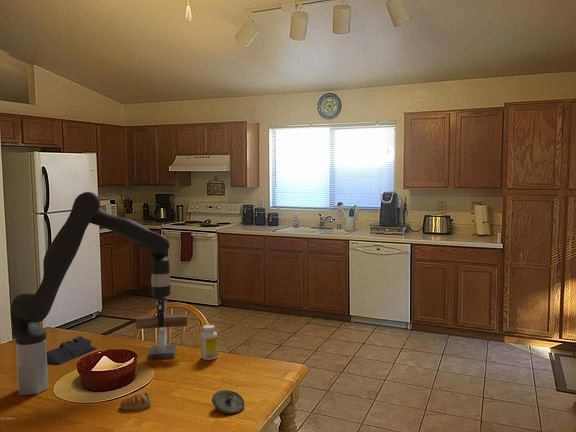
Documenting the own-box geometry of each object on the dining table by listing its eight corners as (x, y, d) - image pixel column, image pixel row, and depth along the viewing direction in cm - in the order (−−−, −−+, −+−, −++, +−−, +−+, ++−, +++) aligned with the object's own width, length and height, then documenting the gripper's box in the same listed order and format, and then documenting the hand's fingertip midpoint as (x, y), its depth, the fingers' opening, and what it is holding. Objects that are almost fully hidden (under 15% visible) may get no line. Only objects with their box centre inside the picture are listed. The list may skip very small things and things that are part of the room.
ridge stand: (174, 357, 197) (173, 333, 196) (148, 359, 195) (148, 334, 195) (176, 349, 207) (175, 326, 206) (151, 350, 205) (151, 327, 204)
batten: (186, 326, 200) (186, 316, 199) (136, 328, 197) (135, 319, 196) (187, 323, 204) (186, 313, 203) (137, 325, 201) (137, 316, 200)
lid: (229, 397, 161) (228, 383, 161) (251, 406, 155) (251, 391, 155) (205, 409, 153) (205, 394, 153) (227, 419, 147) (227, 403, 147)
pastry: (121, 414, 151) (121, 402, 150) (118, 405, 157) (118, 393, 156) (152, 407, 155) (152, 396, 154) (148, 399, 161) (148, 388, 161)
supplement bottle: (221, 356, 198) (220, 325, 197) (210, 361, 193) (209, 330, 192) (208, 353, 202) (208, 323, 201) (197, 358, 196) (197, 327, 195)
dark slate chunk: (30, 361, 195) (29, 350, 194) (73, 344, 215) (73, 333, 214) (58, 367, 189) (57, 355, 188) (100, 348, 209) (100, 338, 208)
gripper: (169, 287, 192) (170, 330, 194) (171, 280, 206) (172, 319, 208) (149, 288, 191) (150, 331, 193) (153, 280, 205) (154, 320, 207)
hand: (161, 324), depth 200 cm, fingers closed on batten, 4 cm apart
